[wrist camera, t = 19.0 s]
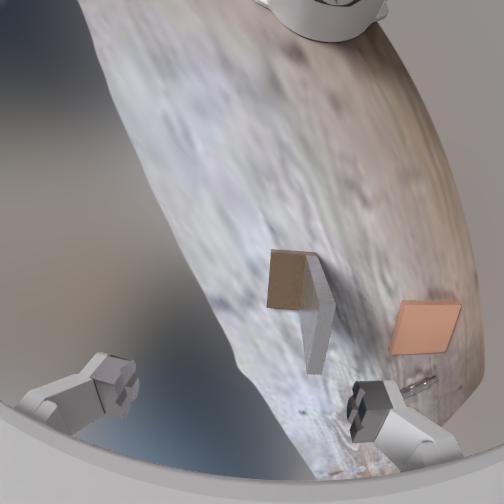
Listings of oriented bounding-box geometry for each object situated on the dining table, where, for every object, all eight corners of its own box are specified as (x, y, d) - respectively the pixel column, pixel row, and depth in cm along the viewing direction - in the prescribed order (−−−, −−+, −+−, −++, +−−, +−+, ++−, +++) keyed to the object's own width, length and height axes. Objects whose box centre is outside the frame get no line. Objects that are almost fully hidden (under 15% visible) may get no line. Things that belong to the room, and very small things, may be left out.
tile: (405, 304, 40) (461, 305, 39) (401, 298, 42) (455, 299, 41) (390, 354, 43) (444, 351, 42) (387, 347, 45) (440, 345, 44)
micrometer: (368, 423, 50) (370, 432, 48) (361, 402, 49) (363, 412, 46) (435, 394, 47) (440, 402, 45) (433, 371, 46) (438, 379, 43)
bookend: (271, 249, 41) (268, 300, 26) (315, 252, 41) (336, 304, 26) (267, 302, 43) (261, 371, 29) (308, 305, 43) (321, 374, 28)
